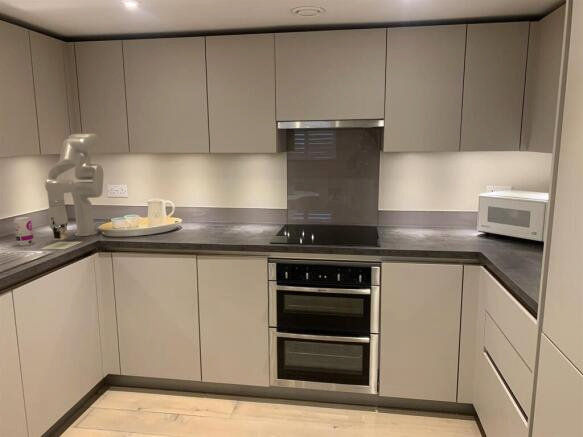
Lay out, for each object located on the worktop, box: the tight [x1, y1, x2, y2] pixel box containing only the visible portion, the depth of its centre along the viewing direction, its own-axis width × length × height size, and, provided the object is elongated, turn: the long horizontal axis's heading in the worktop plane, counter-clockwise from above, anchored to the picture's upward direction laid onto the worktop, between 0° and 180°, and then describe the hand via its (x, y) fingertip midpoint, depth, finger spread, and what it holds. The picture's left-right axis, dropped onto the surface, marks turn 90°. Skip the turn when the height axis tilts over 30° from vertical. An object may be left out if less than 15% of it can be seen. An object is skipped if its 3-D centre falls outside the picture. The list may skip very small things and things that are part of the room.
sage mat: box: [40, 241, 83, 250], centre depth 242 cm, size 16×14×1 cm
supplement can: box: [13, 216, 35, 247], centre depth 245 cm, size 8×8×15 cm
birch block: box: [52, 226, 69, 241], centre depth 240 cm, size 5×5×6 cm
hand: (60, 237), depth 241 cm, fingers closed on birch block, 5 cm apart
